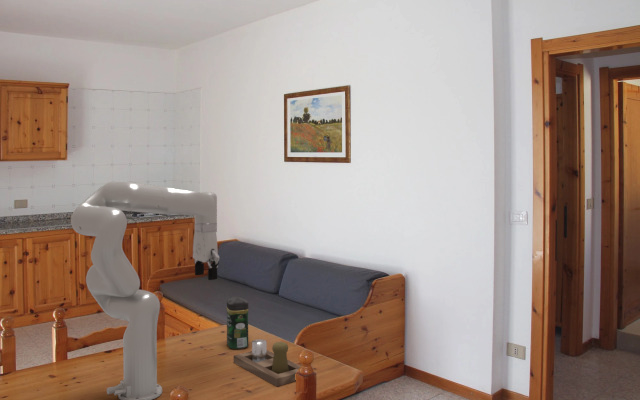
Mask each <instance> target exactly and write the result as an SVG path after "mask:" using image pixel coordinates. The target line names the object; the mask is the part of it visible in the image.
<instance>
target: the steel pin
mask: <svg viewBox="0 0 640 400" xmlns="http://www.w3.org/2000/svg"><path fill="white" fill-rule="evenodd" d="M267 345H268V344H267V340H265V339H262V338H260V339H253V340H252V341H251V351H252V361H254V362H260V361H264V360H266V350H267Z"/></svg>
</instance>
